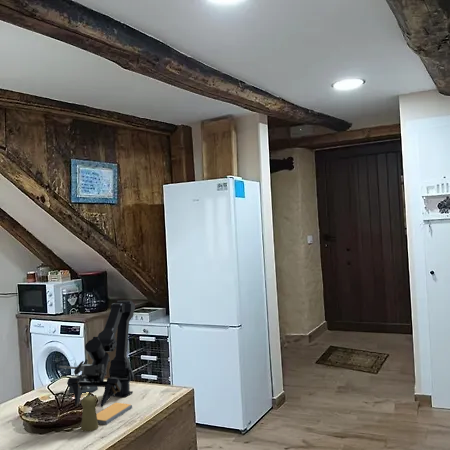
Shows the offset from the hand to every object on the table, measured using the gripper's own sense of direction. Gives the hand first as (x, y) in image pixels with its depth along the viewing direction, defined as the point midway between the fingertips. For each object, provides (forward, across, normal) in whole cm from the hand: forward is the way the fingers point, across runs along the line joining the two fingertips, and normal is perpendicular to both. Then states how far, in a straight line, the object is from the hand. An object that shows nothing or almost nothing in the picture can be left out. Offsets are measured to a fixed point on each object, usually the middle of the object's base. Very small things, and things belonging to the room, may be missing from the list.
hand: (88, 406), depth 181 cm
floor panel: (-4, +3, +14) cm, 15 cm away
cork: (+5, 0, +6) cm, 8 cm away
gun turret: (-24, -22, +35) cm, 47 cm away
